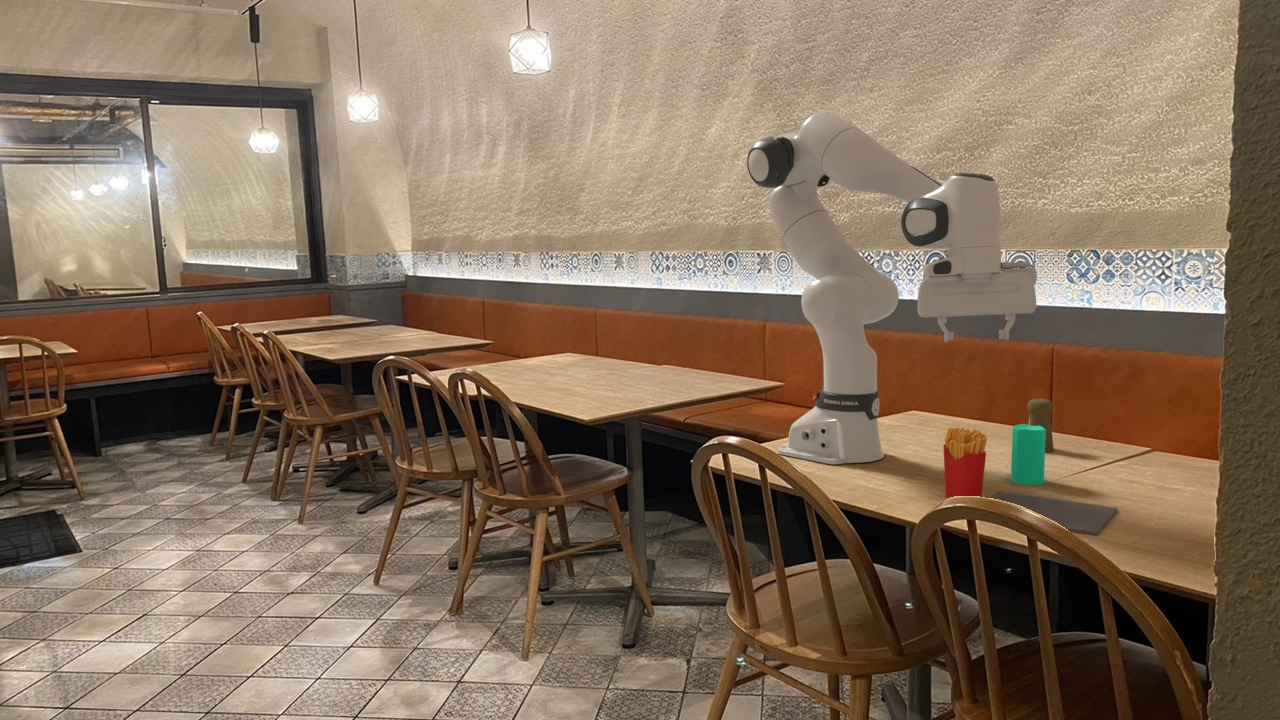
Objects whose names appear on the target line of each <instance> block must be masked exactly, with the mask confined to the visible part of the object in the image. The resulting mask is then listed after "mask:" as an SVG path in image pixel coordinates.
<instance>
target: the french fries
mask: <svg viewBox="0 0 1280 720" xmlns="http://www.w3.org/2000/svg"><path fill="white" fill-rule="evenodd" d="M945 436H946V437H945V439H944V443H945V444H943V465H944V485H945V486H944V489H945V490H944V491H945V499H946V498H950V497H954V496H980V497H981V498H982V494H983V485H984V477H985V476H984V475H985V468H986V457H987V453H986V451H985V448H986V445H987V440H988V436H986V434H984V433H982V431H981V430H977V429H973V430H970V429H965V428H960V427H954V428H953V427H949V428H948V429H947V433H946V435H945Z"/></svg>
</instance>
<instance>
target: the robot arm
mask: <svg viewBox="0 0 1280 720" xmlns="http://www.w3.org/2000/svg"><path fill="white" fill-rule="evenodd" d="M749 148H750V149H749V151H748V152H747V153H748V154H747V160H746V168H747V171H748V174H749V176H750V178H751V180H752V181H753V182H754V183H755V185H757V186H759V187H762V188H766V189H773V190H772V191H771V193H770V194H769V197H768V201H767V202H768V209H769V211H770V214H771V217H772V220H773V222H774V224H775V226H776V228H777V230H778V232H779V234H780V236H781V238H782V239H783V241H784V243H785V244H786V247H787V248H788V250H789V251H790V253H791V254H792V256H793V257H794V259H795V261H796V263H797V264H798V266H799V267H800V269H801V270H802V271H804V272H805V273H806V274H808V275H810V276H812V277H813V278H815V279H816V280H813V281H812V282H810V283H808V284H807V286H805V288H804V291H803V292H802V295H801V299H800V300H801V309H802V310H801V311H802V313H803V315H804V317H805V319H806V320H807V321H808V322H809V323H810V324H811V325H812V326H813V327H814V329H815V331H816V333H817V336H818V339H819V341H820V342H819V343H820V346H821V350H822V358H823V362H822V363H823V364H822V365H823V388H822V389H821V390H819V391H817V392H816V393H814V394H812V396H813V398H812V400H813V401H814V400H815V406H814V407H813V408H811V409H810V410H809V411H807V412H806V413H804V414H803V415H801V417H799V418H798V419H796V420H795V421H794V422H793V423H792V424H791V426H790V429H789V432H788V440H787V441H786V442H784V443H782V444H780V445H779V446H778V448H777V454H778V455H784V456H788V457H793V458H799V459H802V460H806V461H807V460H808V461H811V462H818V463H822V464H828V465H842V464H843V465H844V464H855V463H856V464H859V463H868V462H876V461H879V460H881V459H883V458H884V456H885V455H884V451H883V448H882V445H881V440H880V439H881V438H880V432H879V423H878V417H879V411H880V392H879V390H878V355H877V353H876V351H875V350H874V349H873V348H872V347H871V346H870V344H869V343H868V340H867V337H866V333H865V328H864V325H867V324H872V323H874V324H875V323H877V322H879V321H881V320H883V319H885V318H886V317H889V316H890V315H891V314H893V312H894V311H895V310H896V308H897V306H898V305H899V298H900V294H899V290H898V287H897V284H896V283H895V281H894V280H893V279H892V277H891V278H890V277H889V276H887V275H885V274H883V273H882V272H880V271H879V270H877V269H876V268H875V267H873V265H872V264H871V263H869V262H868V261H867V260H866V259H865V258H864V257H863V256H862V255H861V254H860V253H859V252H858V251H857V250H856V249H854V247H853V246H852V245H851V244H850V242H848V241H847V239H846V238H845V237H844V235H843V233H842V232H841V230H840V229H839V227H838V226H837V224H836V222H835V221H834V220H833V218H832V217H831V215H830V213H829V212H828V210H827V208H826V207H825V206H824V204H823V203H822V201H821V200H820V198H819V196H818V191H817V190H818V187H819V188H820V187H821V188H823V187H825V186H827V185H828V184H829V182H830V179H831V180H832V181H833V182H834V183H836V184H838V185H839V186H841V187H844V188H846V189H848V190H851V191H855V192H862V193H871V194H872V193H874V194H880V195H881V194H882V195H887V196H891V197H894V198H898V199H900V200H902V201H905V202H906V203H907V205H906V206H905V207H904V209H903V212H902V216H901V220H900V224H901V226H900V227H901V230H902V231H901V232H902V234H903V236H904V238H905V240H906V241H907V242H908V243H909V244H911V245H912V246H914V247H919V248H922V249H925V248H926V249H934V248H935V249H946V248H947V249H948V255H947V256H946V257H940V258H938V259H936V260H935V261H932V262H928V263H926V264H925V265H924V266H923V274H924V275H925V276H926V277H924V278H923V279H922V281H921V282H920V284H919V287H918V293H917V304H916V308H917V314H918V315H919V316H920V317H921V318H937V324H938V325H939V327H940V329H941V330H942V332H943V333H944V335H943V336H944V343H954V342H955V340H954V339H955V338H954V336H955V333H954V331H949V330H948V328H947V327H946V325H945V324H947V322H948V320H947V319H948V318H947V317H949V318H950V317H951V318H952V317H971V316H973V317H974V316H999V315H1005V316H1004V318H1005V320H1006V321H1007V322H1006V325H1005V326H1004V328H1003V329H999V330H998V334H999V336H998V340H999V341H1009V340H1010V330H1011V329H1012V327H1013V325H1014V324H1015V322H1016V315H1021V314H1023V315H1026V314H1027V315H1028V314H1033V313H1034V312H1035V310H1036V309H1037V308H1038V307H1037V296H1036V289H1035V285H1036V283H1037V280H1038V274H1037V273H1038V272H1037V268H1036V266H1034V265H1033V264H1031V263H1028V261H1019V262H1013V261H1011V262H1010V261H1008V262H1007V261H1004V262H1003V261H1002V248H1001V240H1000V237H999V227H1000V224H1001V206H1000V205H1001V204H1000V203H1001V202H1000V194H999V190H998V185H997V183H996V180H995V179H994V177H992V176H990V175H989V174H983V173H969V172H957V173H954V174H952V175H950V176H949V177H948V179H947V180H946V182H945V183H943V184H941V183H939V182H938V181H937V180H935V179H933V178H932V177H930V176H929V175H927V174H926V173H924V172H923V171H921V170H920V169H918V168H916V167H914V166H912V165H911V164H910V163H907V162H906V161H904V160H903V159H902V158H901V157H899V156H897V155H896V154H894V153H893V152H891V151H890V150H889V149H887V148H886V147H885V146H883V145H882V144H880V143H879V142H877V141H876V140H875V139H874V138H872V137H871V136H869V134H868V133H866V132H864V131H863V130H861V129H860V128H859V127H857V126H856V125H854V124H853V123H852V122H849V121H848V120H847V119H844V118H843V117H840V116H838V115H836V114H833V113H831V112H827V111H820V112H816V113H814V114H811V116H809V117H807V118H806V119H805V121H804V122H803V123H802V125H801V127H800V129H799V130H791V131H790V132H786V133H781V134H779V135H775V136H768V137H764V138H763V139H762V138H761V139H760V140H759V141H756V142H755V143H754V144H752V146H751V147H749Z"/></svg>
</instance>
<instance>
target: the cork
mask: <svg viewBox="0 0 1280 720" xmlns="http://www.w3.org/2000/svg"><path fill="white" fill-rule="evenodd" d="M1026 408H1027V412H1028V413H1029V417H1028V420H1029V419H1030V426H1041V427H1043V428H1044V429H1046V440H1045V453H1052V452H1053V451H1054V440H1053V429H1052V419H1051V415H1052V413H1053V411H1054V404H1053V402H1052V401H1051V400H1050V399H1045V398H1032V399H1030V400H1029V401H1028V403H1027V407H1026ZM1027 422H1028V423H1027V425H1029V421H1027Z"/></svg>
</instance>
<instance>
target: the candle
mask: <svg viewBox="0 0 1280 720" xmlns="http://www.w3.org/2000/svg"><path fill="white" fill-rule="evenodd" d="M1028 422H1029V425H1028V424H1025V423H1021V424H1015V425H1013V426H1012V433H1011V434H1012V439H1011V463H1010V464H1011V465H1010V466H1011V468H1010V469H1011V470H1010V480H1011V482H1012V483H1016V484H1020V485H1028V486H1032V485H1033V486H1036V485H1042V484H1044V483H1045V466H1046V465H1045V463H1046V452H1045V440H1046V429H1044V428H1043V427H1041V426H1030V419H1029V418H1028Z"/></svg>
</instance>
